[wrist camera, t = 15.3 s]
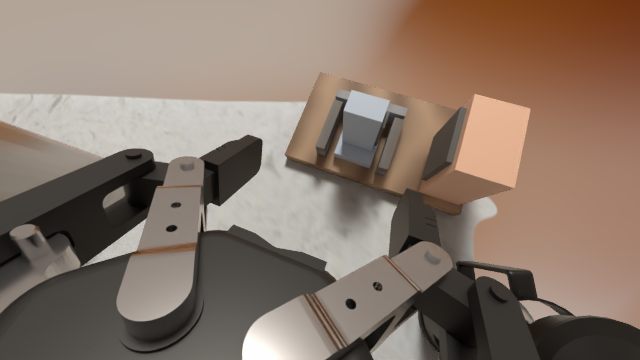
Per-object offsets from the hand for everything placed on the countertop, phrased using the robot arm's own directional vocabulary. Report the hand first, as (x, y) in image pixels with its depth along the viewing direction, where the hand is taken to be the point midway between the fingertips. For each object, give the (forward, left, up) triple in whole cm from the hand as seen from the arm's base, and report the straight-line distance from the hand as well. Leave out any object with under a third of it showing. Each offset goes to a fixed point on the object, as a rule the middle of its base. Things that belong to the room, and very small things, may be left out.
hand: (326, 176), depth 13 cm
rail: (+3, +13, -20) cm, 24 cm away
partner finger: (+12, +11, -19) cm, 25 cm away
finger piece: (0, +10, -19) cm, 22 cm away
